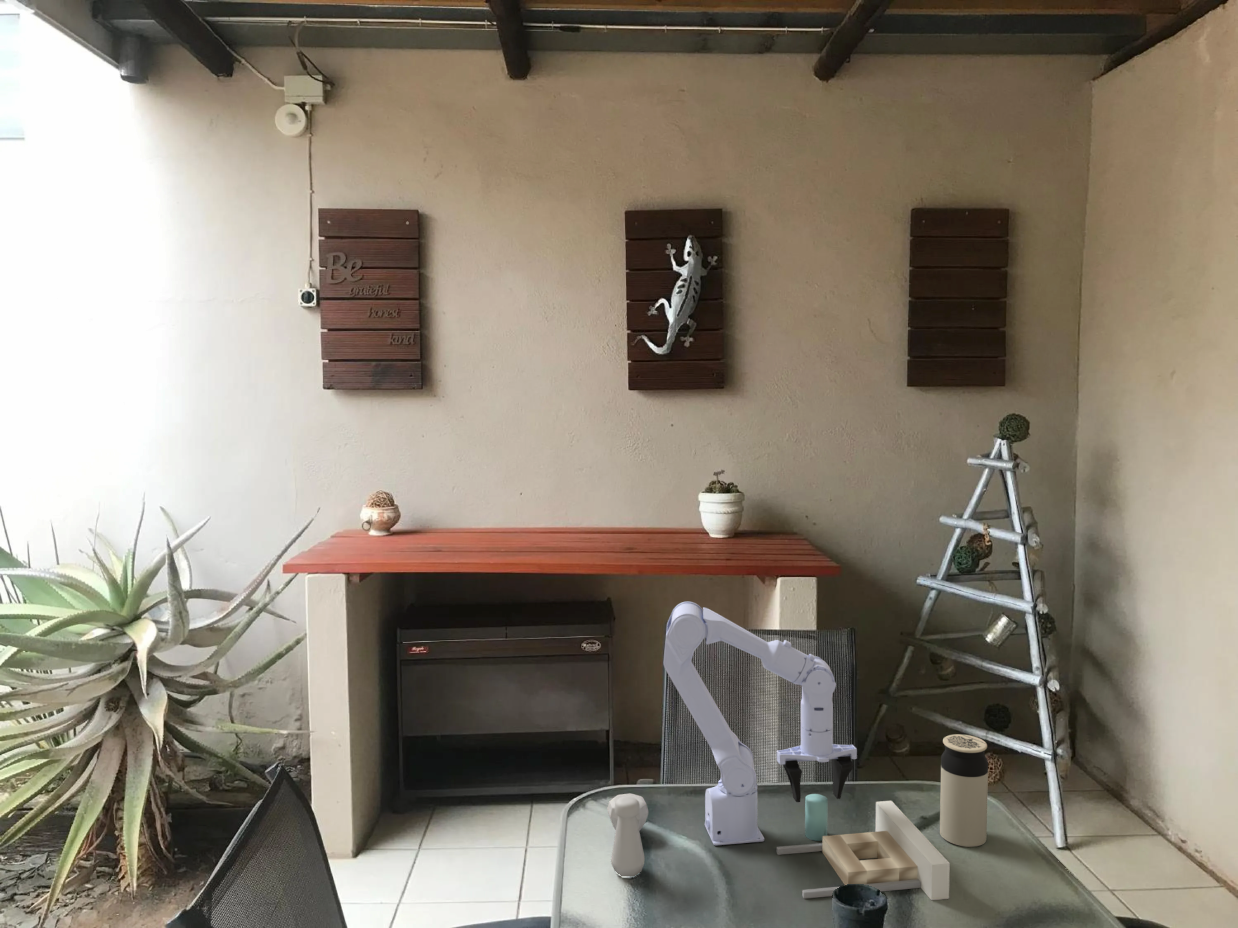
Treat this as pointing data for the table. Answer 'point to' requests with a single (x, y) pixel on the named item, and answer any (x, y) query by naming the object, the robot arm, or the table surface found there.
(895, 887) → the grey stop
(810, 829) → the dowel
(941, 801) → the travel mug
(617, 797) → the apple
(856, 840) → the socket block
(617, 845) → the salt shaker
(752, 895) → the table surface
